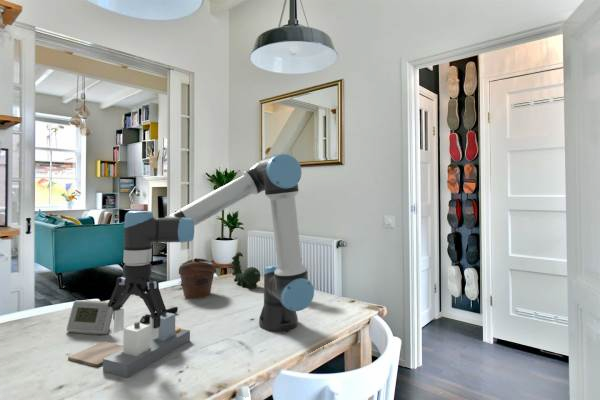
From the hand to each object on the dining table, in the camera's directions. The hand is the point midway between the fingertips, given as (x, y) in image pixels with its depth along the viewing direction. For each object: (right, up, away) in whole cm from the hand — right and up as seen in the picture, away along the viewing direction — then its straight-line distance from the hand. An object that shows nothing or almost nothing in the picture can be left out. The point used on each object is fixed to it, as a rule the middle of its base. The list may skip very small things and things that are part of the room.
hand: (135, 334), depth 102 cm
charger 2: (+4, -7, +10) cm, 13 cm away
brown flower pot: (-3, -8, +70) cm, 71 cm away
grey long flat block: (+2, -8, +5) cm, 10 cm away
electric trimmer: (-8, -8, +37) cm, 39 cm away
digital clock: (-27, -8, +22) cm, 36 cm away
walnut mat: (-13, -8, +5) cm, 16 cm away
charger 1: (0, -7, 0) cm, 7 cm away
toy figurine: (+19, -8, +89) cm, 91 cm away
